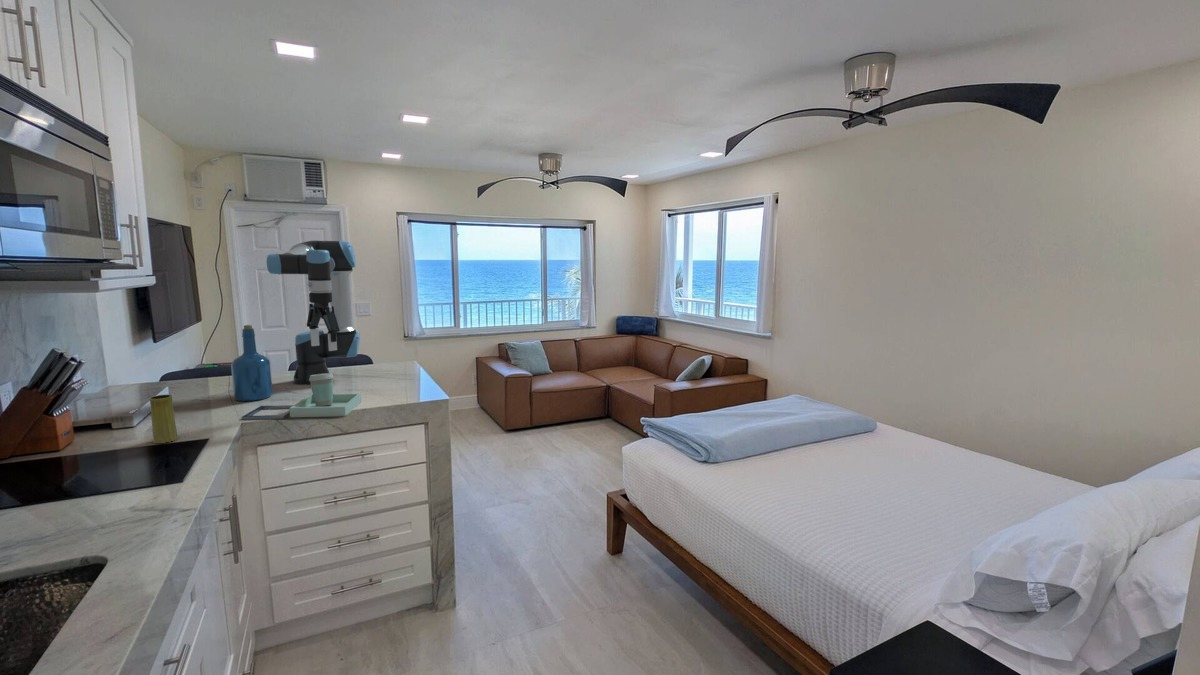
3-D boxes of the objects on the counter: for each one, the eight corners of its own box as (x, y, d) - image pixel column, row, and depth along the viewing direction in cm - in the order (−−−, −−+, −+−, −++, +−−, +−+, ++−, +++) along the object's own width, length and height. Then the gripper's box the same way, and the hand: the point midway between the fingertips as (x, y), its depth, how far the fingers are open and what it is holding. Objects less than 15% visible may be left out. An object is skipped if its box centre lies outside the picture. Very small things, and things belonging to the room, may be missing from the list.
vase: (182, 439, 163) (177, 395, 161) (159, 445, 157) (154, 400, 155) (171, 436, 166) (167, 393, 163) (148, 442, 160) (143, 397, 158)
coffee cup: (333, 402, 205) (330, 372, 205) (338, 403, 199) (335, 373, 198) (309, 406, 200) (306, 375, 199) (314, 407, 193) (310, 376, 193)
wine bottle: (273, 399, 209) (268, 326, 204) (233, 404, 201) (226, 328, 197) (272, 391, 220) (266, 322, 215) (234, 395, 212) (227, 324, 208)
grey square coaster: (261, 408, 196) (260, 405, 196) (300, 407, 199) (299, 405, 198) (241, 419, 183) (241, 417, 183) (283, 418, 185) (283, 416, 185)
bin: (311, 402, 205) (310, 394, 205) (361, 401, 208) (361, 393, 207) (290, 417, 187) (289, 408, 186) (345, 416, 189) (345, 406, 189)
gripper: (294, 290, 195) (298, 345, 198) (326, 294, 180) (330, 353, 184) (314, 289, 201) (318, 342, 204) (347, 293, 186) (350, 351, 190)
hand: (324, 348), depth 194 cm, fingers open, 13 cm apart
